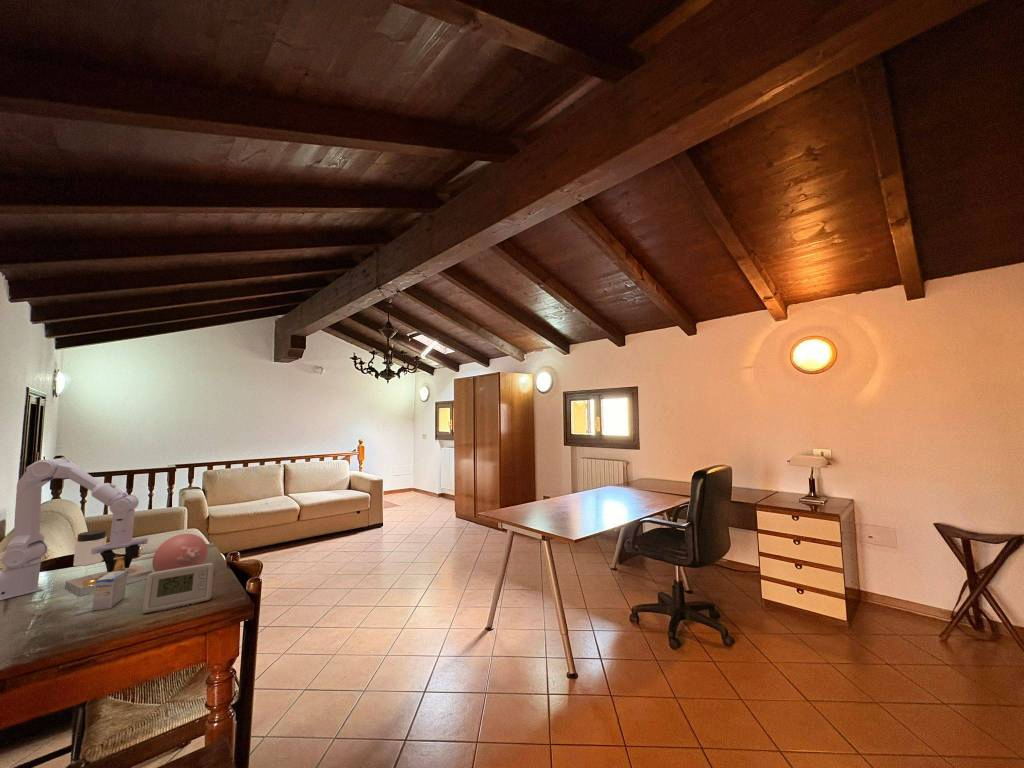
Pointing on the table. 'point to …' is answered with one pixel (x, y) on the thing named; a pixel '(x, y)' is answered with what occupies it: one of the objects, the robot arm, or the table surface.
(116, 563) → the bushing
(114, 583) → the medicine box
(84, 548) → the jar
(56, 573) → the table surface
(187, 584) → the digital clock
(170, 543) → the pink oval ball
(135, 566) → the jig
